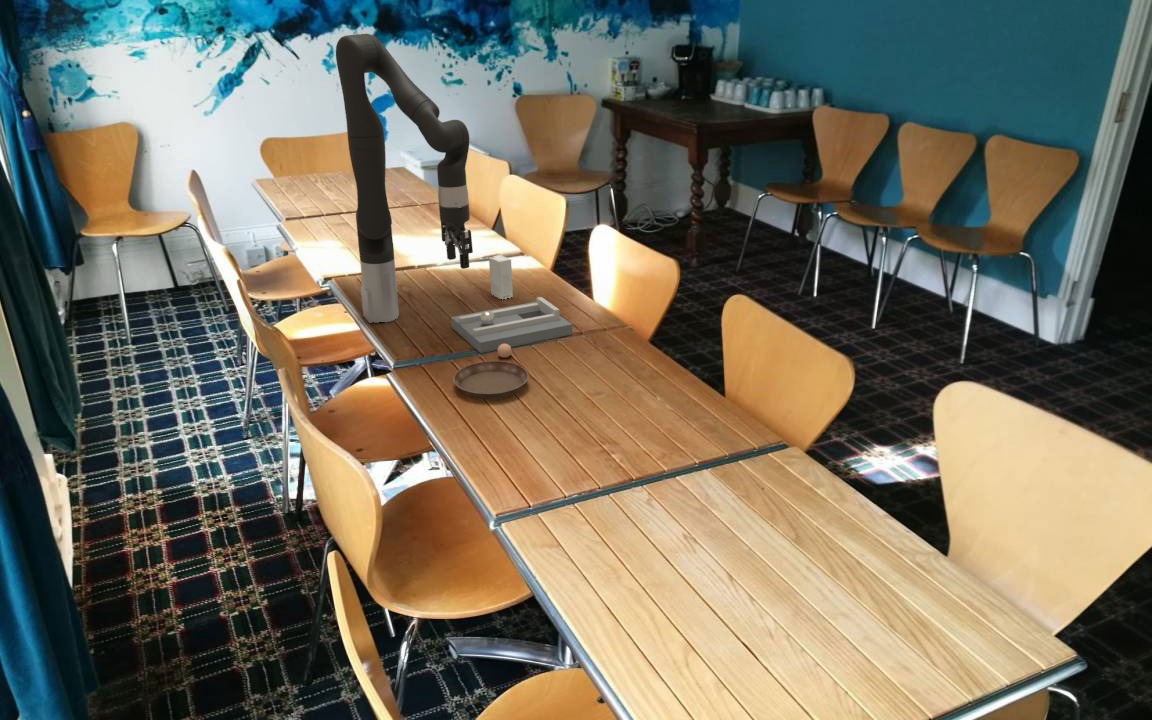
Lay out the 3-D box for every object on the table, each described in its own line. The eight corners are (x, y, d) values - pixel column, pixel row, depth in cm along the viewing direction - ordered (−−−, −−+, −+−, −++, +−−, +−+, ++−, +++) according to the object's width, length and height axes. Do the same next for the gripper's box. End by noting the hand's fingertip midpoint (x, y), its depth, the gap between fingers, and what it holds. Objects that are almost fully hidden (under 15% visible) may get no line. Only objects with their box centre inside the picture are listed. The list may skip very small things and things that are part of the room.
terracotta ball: (501, 361, 223) (500, 347, 221) (495, 355, 226) (494, 342, 224) (514, 358, 224) (513, 345, 223) (508, 353, 227) (507, 340, 226)
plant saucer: (460, 408, 200) (459, 396, 198) (449, 376, 215) (448, 364, 214) (536, 399, 204) (535, 387, 203) (519, 368, 219) (519, 357, 218)
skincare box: (513, 297, 265) (512, 259, 260) (501, 300, 262) (500, 261, 257) (501, 292, 269) (500, 254, 264) (489, 295, 266) (488, 256, 261)
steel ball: (483, 329, 234) (483, 315, 232) (477, 324, 237) (477, 310, 236) (497, 326, 236) (497, 312, 234) (491, 321, 239) (490, 307, 237)
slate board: (480, 353, 227) (479, 331, 224) (451, 327, 243) (450, 306, 240) (572, 334, 239) (572, 313, 236) (538, 310, 255) (538, 291, 252)
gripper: (429, 198, 226) (434, 258, 233) (451, 210, 215) (456, 273, 222) (456, 194, 229) (460, 254, 236) (479, 206, 218) (483, 268, 225)
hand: (458, 263), depth 229 cm, fingers open, 8 cm apart
